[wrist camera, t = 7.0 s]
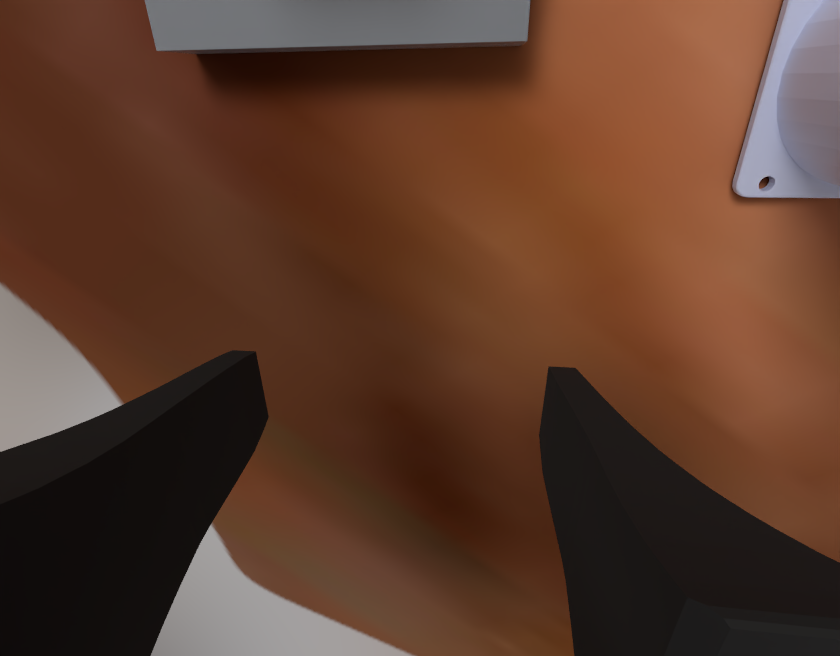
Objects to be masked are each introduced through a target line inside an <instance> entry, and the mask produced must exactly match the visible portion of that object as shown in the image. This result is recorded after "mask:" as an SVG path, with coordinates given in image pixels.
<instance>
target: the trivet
mask: <svg viewBox="0 0 840 656" xmlns="http://www.w3.org/2000/svg"><path fill="white" fill-rule="evenodd" d="M145 3H146V7H147V12H148V16H149V20H150V24H151V29H152V33H153V37H154V41H155V45H156V50H157V51H165V52H177V53H188V54H218V53H258V52H297V51H336V50H375V49H414V48H453V47H493V46H522V45H523V44H524V43H525V42H527V37H528V24H529V11H530V0H145Z"/></svg>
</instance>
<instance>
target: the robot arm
mask: <svg viewBox="0 0 840 656" xmlns="http://www.w3.org/2000/svg"><path fill="white" fill-rule="evenodd" d="M767 176H768V177H769V183H768V184H767V186H765V187H764V188H762V189H759V183H760V181H761V180H762V179H763V178H764V177H767ZM732 188H733V190H734V192H735V193H737V194H738V195H740V196H743V197H755V198H840V0H784V1H783V5H782V8H781V12H780V15H779V19H778V22H777V26H776V29H775V33H774V37H773V40H772V44H771V47H770V51H769V54H768V58H767V61H766V65H765V69H764V72H763V76H762V79H761V83H760V86H759V90H758V93H757V97H756V101H755V104H754V108H753V111H752V115H751V118H750V122H749V126H748V129H747V133H746V136H745V140H744V143H743V147H742V150H741V154H740V158H739V161H738V165H737V168H736V172H735V175H734V179H733V185H732ZM267 420H268V412H267V406H266V401H265V396H264V391H263V386H262V381H261V376H260V371H259V366H258V361H257V356H256V352H254V351H234V350H233V351H230V352H228V353H225V354H223V355H221V356H218V357H216V358H214V359H212V360H210V361H208V362H206V363H204V364H202V365H200V366H199V367H197V368H195V369H193V370H191V371H189V372H187V373H185V374H183V375H181V376H180V377H178V378H176V379H174V380H172V381H170V382H168V383H166V384H164V385H162V386H160V387H158V388H157V389H155V390H152V391H150V392H148V393H146V394H144V395H142V396H140V397H138V398H136V399H134V400H132V401H130V402H128V403H126V404H124V405H122V406H119V407H118V408H115V409H113V410H111V411H109V412H106V413H104V414H102V415H100V416H97V417H95V418H93V419H91V420H88V421H86V422H83V423H80V424H78V425H75V426H73V427H70V428H68V429H65V430H63V431H60V432H58V433H55V434H52V435H49V436H46V437H43V438H40V439H37V440H34V441H31V442H29V443H26V444H23V445H20V446H17V447H14V448H11V449H8V450H5V451H2V452H0V656H150V655H151V653H152V650H153V648H154V646H155V643H156V641H157V638H158V636H159V633H160V631H161V628H162V626H163V624H164V621H165V619H166V617H167V614H168V612H169V610H170V608H171V605H172V603H173V600H174V598H175V596H176V594H177V591H178V589H179V587H180V585H181V582H182V580H183V578H184V576H185V574H186V572H187V570H188V568H189V565H190V563H191V561H192V559H193V557H194V555H195V553H196V550H197V549H198V547H199V545H200V543H201V541H202V539H203V537H204V535H205V534H206V532H207V530H208V528H209V526H210V525H211V523H212V521H213V520H214V518H215V516H216V515H217V513H218V511H219V510H220V508H221V507H222V505H223V503H224V502H225V500H226V498H227V497H228V495H229V493H230V492H231V490H232V488H233V487H234V485H235V483H236V482H237V480H238V478H239V477H240V475H241V473H242V472H243V470H244V468H245V467H246V465H247V463H248V461H249V460H250V458H251V456H252V454H253V453H254V451H255V449H256V446H257V444H258V442H259V440H260V437H261V435H262V432H263V430H264V427H265V425H266V422H267ZM539 437H540V449H541V460H542V470H543V476H544V481H545V486H546V490H547V495H548V499H549V504H550V508H551V513H552V517H553V522H554V526H555V531H556V535H557V540H558V544H559V548H560V553H561V557H562V562H563V568H564V573H565V579H566V586H567V595H568V603H569V611H570V619H571V628H572V637H573V646H574V655H575V656H840V563H839V562H837V561H835V560H833V559H831V558H829V557H827V556H825V555H823V554H821V553H819V552H817V551H815V550H813V549H811V548H809V547H808V546H806V545H804V544H802V543H800V542H798V541H797V540H795V539H793V538H791V537H789V536H787V535H786V534H784V533H782V532H780V531H778V530H776V529H775V528H773V527H771V526H770V525H768V524H766V523H764V522H763V521H761V520H759V519H758V518H756V517H754V516H753V515H751V514H749V513H748V512H746V511H744V510H743V509H741V508H740V507H738V506H737V505H735V504H733V503H732V502H730V501H729V500H727V499H726V498H724V497H723V496H721V495H719V494H718V493H716V492H715V491H713V490H712V489H710V488H709V487H708V486H706V485H705V484H703V483H702V482H700V481H699V480H697V479H696V478H695V477H693V476H692V475H691V474H689V473H688V472H687V471H685V470H684V469H683V468H681V467H680V466H679V465H677V464H676V463H675V462H673V461H672V460H671V459H669V458H668V457H667V456H666V455H664V454H663V453H662V452H661V451H660V450H658V449H657V448H656V447H655V446H654V445H653V444H651V443H650V442H649V441H648V440H647V439H646V438H645V437H643V436H642V435H641V434H640V433H639V432H638V431H637V430H636V429H634V428H633V427H632V426H631V425H630V424H629V423H628V422H627V421H626V420H625V419H624V418H623V417H622V416H621V415H620V414H619V413H618V412H617V411H616V410H615V409H614V408H613V407H612V406H611V405H610V404H609V403H608V402H607V401H606V400H605V399H604V398H603V397H602V396H601V395H600V394H599V393H598V392H597V391H596V390H595V389H594V387H593V386H592V385H591V384H590V383H589V382H588V381H587V380H586V379H585V378H584V377H583V375H582V374H581V373H580V372H579V371H578V370H577V369H576V368H566V367H549V368H548V375H547V382H546V390H545V397H544V404H543V411H542V419H541V426H540V433H539Z"/></svg>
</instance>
